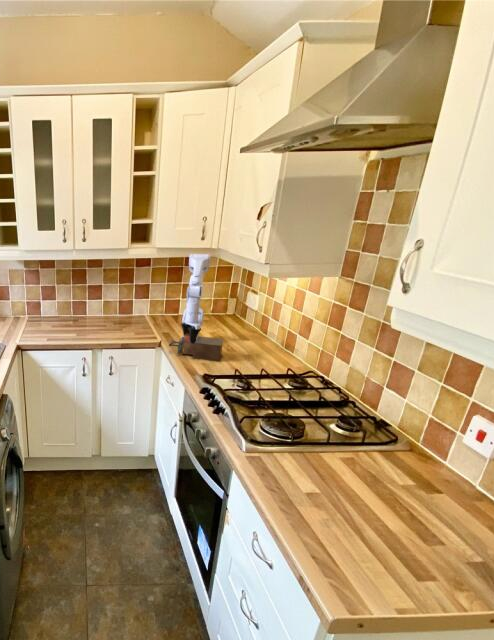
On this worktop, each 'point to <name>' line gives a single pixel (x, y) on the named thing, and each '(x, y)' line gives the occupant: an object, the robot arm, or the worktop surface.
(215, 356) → the cabinet
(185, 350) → the drawer
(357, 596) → the worktop surface
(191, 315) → the robot arm
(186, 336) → the block
